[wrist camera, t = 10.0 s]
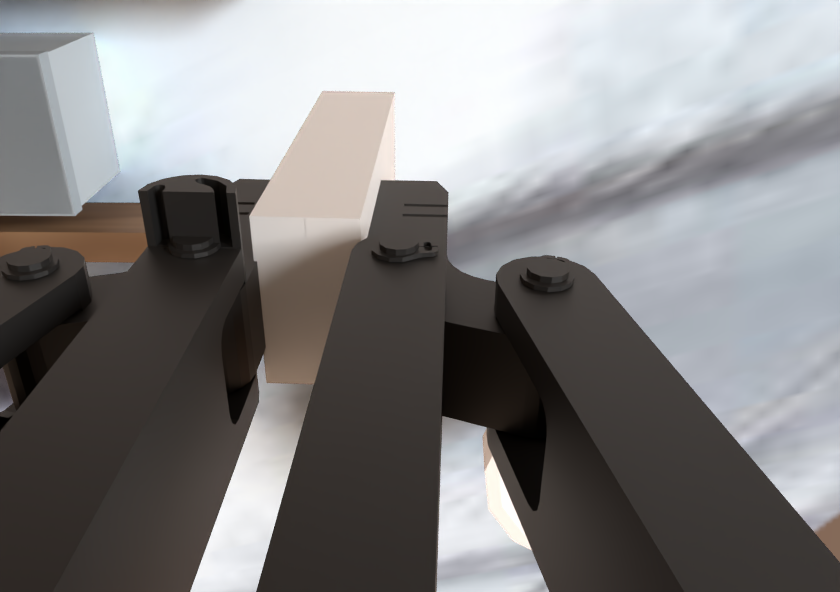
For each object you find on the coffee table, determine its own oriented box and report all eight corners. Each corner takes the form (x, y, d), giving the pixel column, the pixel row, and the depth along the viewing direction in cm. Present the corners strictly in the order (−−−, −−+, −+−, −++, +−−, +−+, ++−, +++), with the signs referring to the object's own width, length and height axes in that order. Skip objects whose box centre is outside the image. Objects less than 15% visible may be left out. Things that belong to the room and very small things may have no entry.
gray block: (-50, 30, 38) (-131, 54, 33) (96, 30, 38) (38, 54, 33) (-12, 172, 42) (-79, 215, 36) (123, 173, 41) (75, 215, 36)
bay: (-108, -54, 36) (-184, -45, 32) (270, -57, 36) (245, -48, 31) (-25, 229, 43) (-78, 269, 39) (296, 231, 42) (278, 272, 38)
